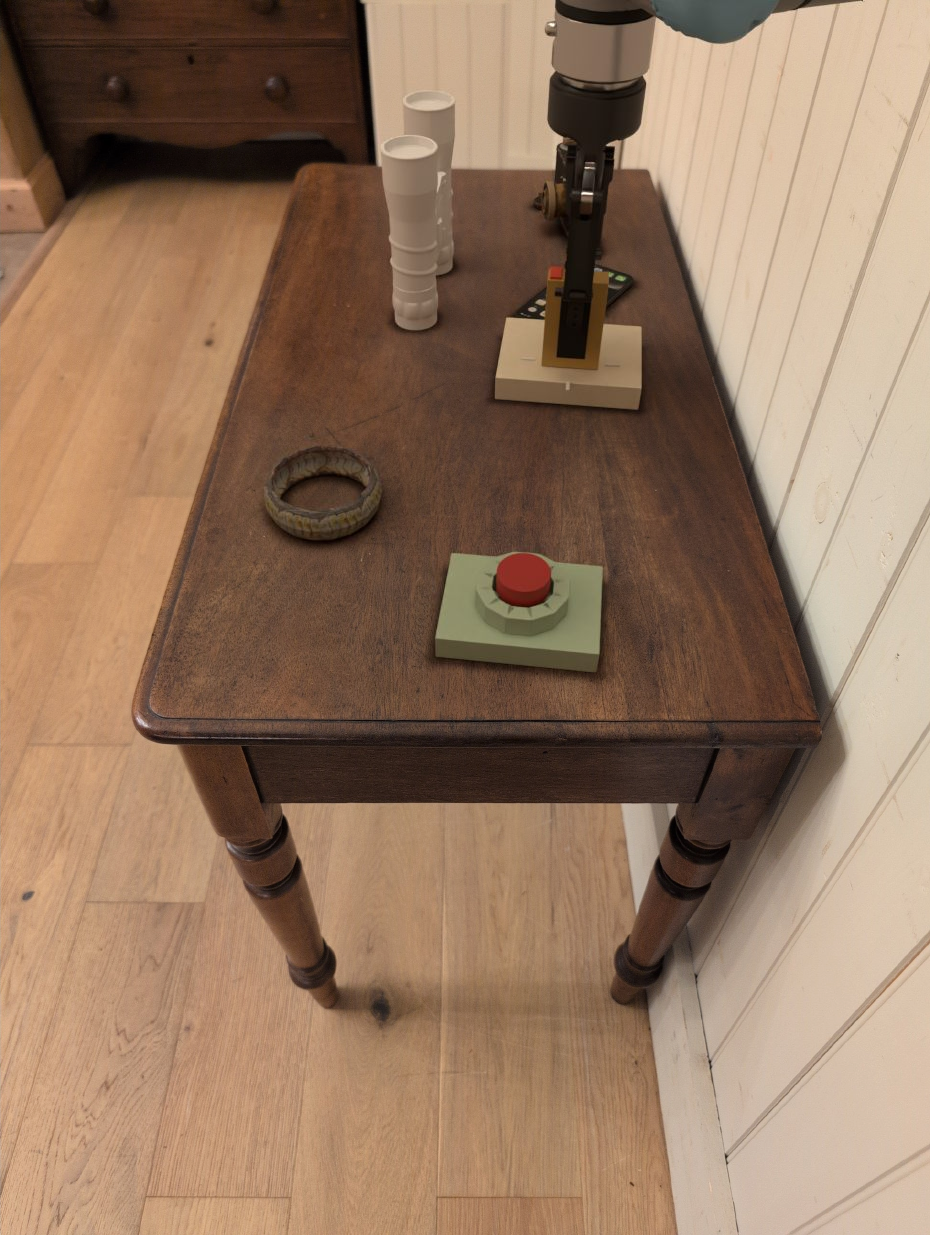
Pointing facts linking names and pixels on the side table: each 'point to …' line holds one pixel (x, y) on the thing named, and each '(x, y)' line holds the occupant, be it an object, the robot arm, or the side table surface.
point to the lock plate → (570, 369)
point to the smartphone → (538, 302)
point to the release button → (523, 580)
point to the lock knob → (553, 316)
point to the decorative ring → (317, 464)
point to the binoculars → (420, 205)
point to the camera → (559, 192)
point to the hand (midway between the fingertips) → (572, 340)
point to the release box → (521, 617)
